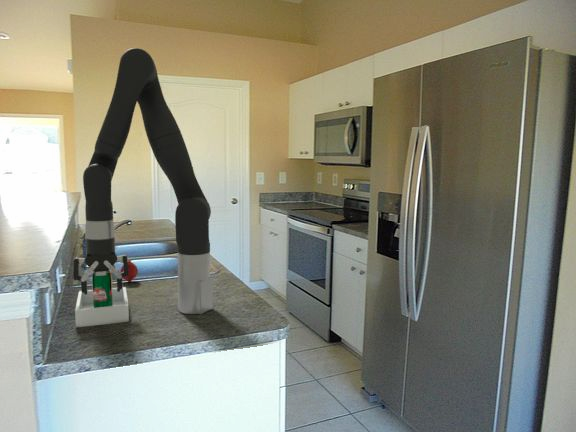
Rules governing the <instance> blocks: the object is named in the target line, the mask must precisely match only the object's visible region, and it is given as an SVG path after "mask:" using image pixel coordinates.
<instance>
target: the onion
mask: <svg viewBox="0 0 576 432" xmlns="http://www.w3.org/2000/svg"><path fill="white" fill-rule="evenodd" d="M127 261H128V271H129V275H128V276H125V277H123V278H122V280H124V281H126V282H132V281H133V280H134V279H135V278H137V276H138V272H139V270H138V267H137V265H136V264H135V263H133V262H132V259H127ZM119 271H120V272H123V271H124V268H123V265H122V266H121V267H120V270H119Z"/></svg>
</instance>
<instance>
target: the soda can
mask: <svg viewBox="0 0 576 432" xmlns="http://www.w3.org/2000/svg"><path fill="white" fill-rule="evenodd" d="M91 283H92V290H93V307H94V308H98V307H108V306H113V299H112V284H113V277H112V278H111V272H110V270H108V271H107V270H106V271H96V272H95V271H94V272H92V273H91Z"/></svg>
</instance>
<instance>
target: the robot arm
mask: <svg viewBox="0 0 576 432" xmlns="http://www.w3.org/2000/svg"><path fill="white" fill-rule="evenodd" d="M119 59H120V60H119V65H118V70H117V71H118V72H117V77H116V80H115V81H116V82H115V85H114V89H113V94H112V96H111V99H110V100H111V101H110V103H109V107H108V109H107V112H106V114H105V117H104V120H103V121H102V125H101V128H100V131H99V133H98V136H97V138H96V141H95V144H94V151H93V154H92V156H91V159H90V161H89V163H88V166H87V167H86V168H85V170H84V172H83V176H82V180H83V181H82V183H83V191H84V198H85V205H84V206H85V207H84V208H85V209H84V210H85V225H84V236H85V237H84V238H85V257H78V256H76V257H74V259H73V274H72V275H73V278H72V279H73V280H74V281H80V286H81V287H80V288H81V290H80V291H82V293H84V295H87V290H88V278H89V277H90V276H91V275H92V273H93V272H94V271H95V272H96V271H106V270H107V271H108V270H110V271H111V272H112V275H115V277H116V288H117V292H120V289H122V287H123V277H125V276H128V275H129V271H128V254H125V253H123V254H122V255H117V254H116V236H115V235H116V231H115V229H116V228H115V224H114V209H113V201H112V180H113V177H114V174H115V170H116V168H117V165H118V161H119V158H120V157H121V154H122V153H123V150H124V148H125V145H126V143H127V139H128V137H129V133H130V130H131V125H132V121H133V116H134V113H135V109H136V106H137V104H138V106H139V108H140V112H141V117H142V122H143V127H144V130H145V133H146V137H147V141H148V143H149V145H150V148H151V151H152V153H153V155H154V158H155V160H156V162H157V163H158V165H159V167H160V168H161V170H162V172H163V173H164V174H165V176H166V178H167V179H168V181H169V183H170V184H171V187H172V189H173V192H174V193H175V194H174V195H175V198H176V201H177V206H176V209H175V214H174V216H175V217H174V218H175V219H174V220H175V222H174V224H175V226H174V227H175V242H176V246H177V298H178V299H177V300H178V301H177V303H178V307H177V308H178V311H179V312H180V313H182V314H186V315H187V314H188V315H203V314H204V313H206V312H208V311H211V310H213V309H214V278H213V276H211V242H210V233H209V232H210V229H209V228H210V227H209V226H210V223H209V222H210V218H211V212H212V210H211V206H210V203H209V202H208V199H207V197H206V195H205V194H204V192H203V189H202V187H201V185H200V184H199V182H198V179H197V177H196V173H195V171H194V167H193V164H192V160H191V157H190V153H189V151H188V148H187V145H186V143H185V139H184V137H183V134H182V132H181V130H180V128H179V127H180V126H179V125H178V123H177V120H176V118H175V117H174V115H173V113H172V111H171V109H170V107H169V106H168V104H167V102H166V100H165V97H164V93H163V90H162V87H161V84H160V80H159V76H158V71H157V67H156V64H155V60H154V59H153V57H152V56H151V55H150V54H149V52H148V51H147V50H145V49H142V48H140V47H139V48H138V47H132V48H129V49H127V50H126V51H125V52H124V53H122V55H121V57H120V58H119ZM118 261H119V263H121V264H122V266H123V268H124V271H123V272H120V270H119V269H118V267H116V265H115V264H116V263H117V262H118ZM83 263H85V264H86V266H87V269H86V270H85V271H84V273H83V274H82V275H81V274H80V267H81V266H82V265H83Z"/></svg>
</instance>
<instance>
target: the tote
mask: <svg viewBox="0 0 576 432" xmlns="http://www.w3.org/2000/svg"><path fill="white" fill-rule="evenodd" d="M112 299H113V306H108V307H98V308H94V307H93V289H87V295H84V293H82V291H81V290H79V291H78V295H77V299H76V305H75V310H74V316H75V317H74V318H75V328H82V327H91V326H100V325H107V324H108V325H109V324H118V323H127V322H129V321H130V316H129V310H130V309H129V301H128V294H127V287H126V286H122V289H120V292H117V287H113V288H112Z"/></svg>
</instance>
